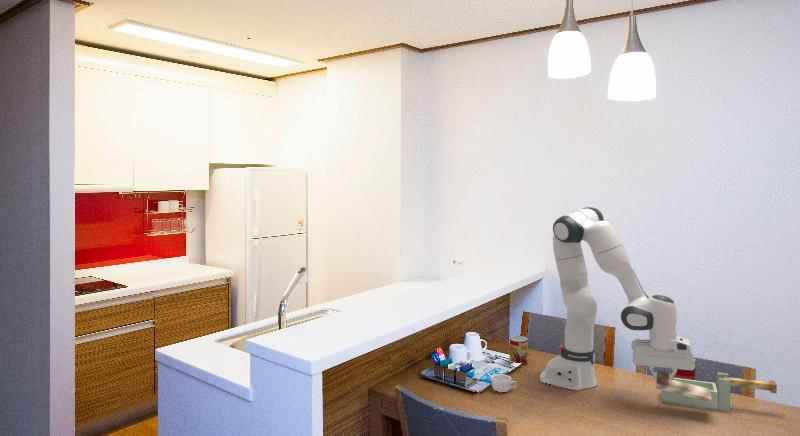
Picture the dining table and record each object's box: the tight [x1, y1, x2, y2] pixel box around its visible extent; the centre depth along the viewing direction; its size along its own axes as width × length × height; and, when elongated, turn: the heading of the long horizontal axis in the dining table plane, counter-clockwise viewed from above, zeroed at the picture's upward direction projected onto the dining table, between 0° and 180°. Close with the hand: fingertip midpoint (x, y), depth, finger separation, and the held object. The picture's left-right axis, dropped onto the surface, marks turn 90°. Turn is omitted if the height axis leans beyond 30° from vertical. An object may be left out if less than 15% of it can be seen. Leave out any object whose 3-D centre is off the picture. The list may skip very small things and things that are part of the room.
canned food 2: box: [674, 357, 697, 380], centre depth 218 cm, size 8×8×11 cm
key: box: [724, 376, 778, 395], centre depth 193 cm, size 16×4×3 cm, turn 66°
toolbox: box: [660, 372, 732, 413], centre depth 201 cm, size 22×9×12 cm, turn 66°
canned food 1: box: [509, 335, 529, 367], centre depth 243 cm, size 8×8×12 cm
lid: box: [655, 369, 711, 402], centre depth 192 cm, size 17×9×5 cm, turn 66°
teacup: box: [490, 373, 518, 393], centre depth 215 cm, size 10×8×5 cm
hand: (663, 378), depth 195 cm, fingers closed on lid, 4 cm apart
